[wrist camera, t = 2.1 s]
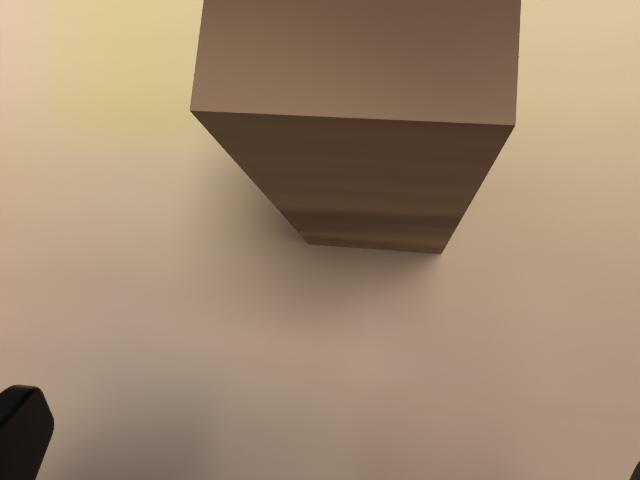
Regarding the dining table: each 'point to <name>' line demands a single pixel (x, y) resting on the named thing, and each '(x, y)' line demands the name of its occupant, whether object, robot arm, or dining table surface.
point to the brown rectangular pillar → (361, 109)
